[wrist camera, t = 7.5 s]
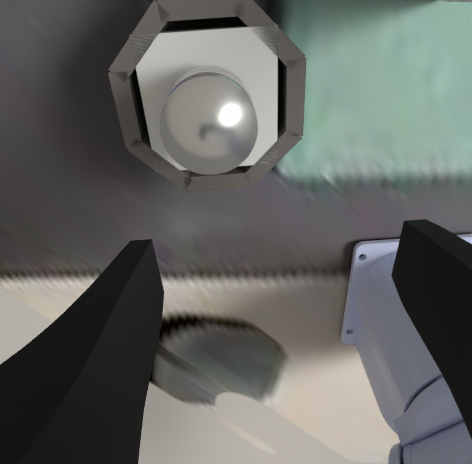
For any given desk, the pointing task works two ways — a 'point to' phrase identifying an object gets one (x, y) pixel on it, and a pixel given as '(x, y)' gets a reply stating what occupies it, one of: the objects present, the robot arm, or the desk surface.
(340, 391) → the desk surface
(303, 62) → the press
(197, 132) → the plunger
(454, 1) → the skincare box
